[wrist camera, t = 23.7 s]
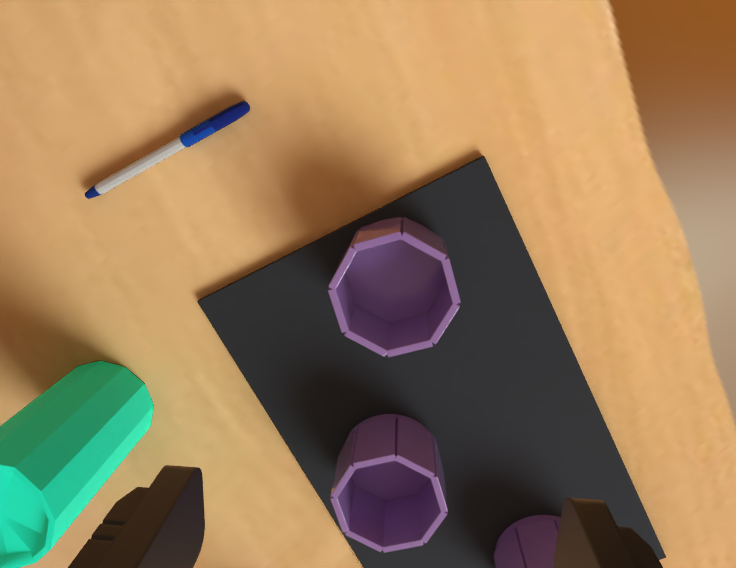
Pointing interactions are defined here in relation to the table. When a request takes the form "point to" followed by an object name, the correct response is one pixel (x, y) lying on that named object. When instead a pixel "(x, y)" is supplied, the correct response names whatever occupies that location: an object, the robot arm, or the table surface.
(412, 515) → the purple octagonal cup
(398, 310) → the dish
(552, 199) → the table surface
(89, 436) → the candle
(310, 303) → the mat
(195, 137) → the ballpoint pen
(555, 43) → the table surface
